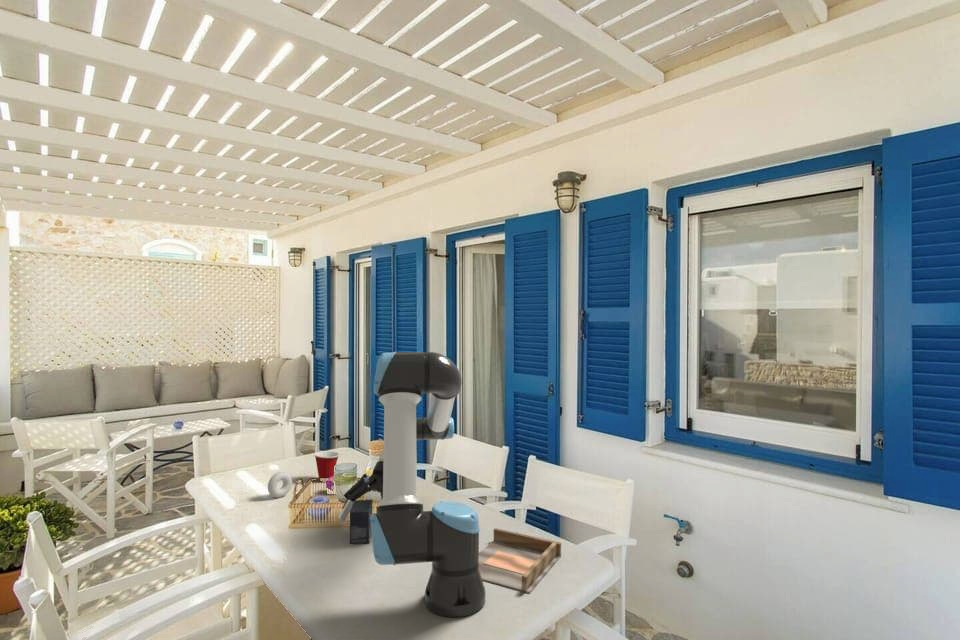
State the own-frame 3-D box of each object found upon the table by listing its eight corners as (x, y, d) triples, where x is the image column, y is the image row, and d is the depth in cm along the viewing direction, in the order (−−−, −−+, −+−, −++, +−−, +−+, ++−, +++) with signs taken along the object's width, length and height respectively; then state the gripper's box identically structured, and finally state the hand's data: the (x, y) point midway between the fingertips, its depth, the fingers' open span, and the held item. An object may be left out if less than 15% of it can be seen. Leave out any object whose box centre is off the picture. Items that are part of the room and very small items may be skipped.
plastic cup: (339, 483, 217) (340, 455, 217) (313, 485, 214) (313, 457, 214) (339, 475, 228) (339, 449, 228) (314, 477, 225) (314, 450, 225)
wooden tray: (529, 593, 128) (529, 578, 128) (456, 572, 139) (456, 558, 139) (561, 556, 149) (561, 542, 149) (495, 540, 160) (495, 528, 160)
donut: (288, 493, 204) (289, 468, 204) (293, 494, 202) (293, 469, 202) (265, 499, 196) (265, 474, 196) (270, 501, 194) (270, 475, 194)
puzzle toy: (326, 494, 202) (326, 480, 202) (330, 490, 208) (331, 476, 208) (339, 495, 202) (340, 481, 202) (344, 490, 208) (344, 476, 208)
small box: (353, 531, 167) (353, 499, 167) (373, 530, 167) (373, 498, 167) (348, 544, 156) (348, 511, 156) (369, 544, 157) (369, 510, 157)
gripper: (421, 476, 170) (393, 537, 156) (365, 466, 182) (334, 522, 168) (412, 464, 165) (382, 526, 152) (354, 455, 177) (322, 511, 164)
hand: (356, 524), depth 160 cm, fingers open, 13 cm apart
